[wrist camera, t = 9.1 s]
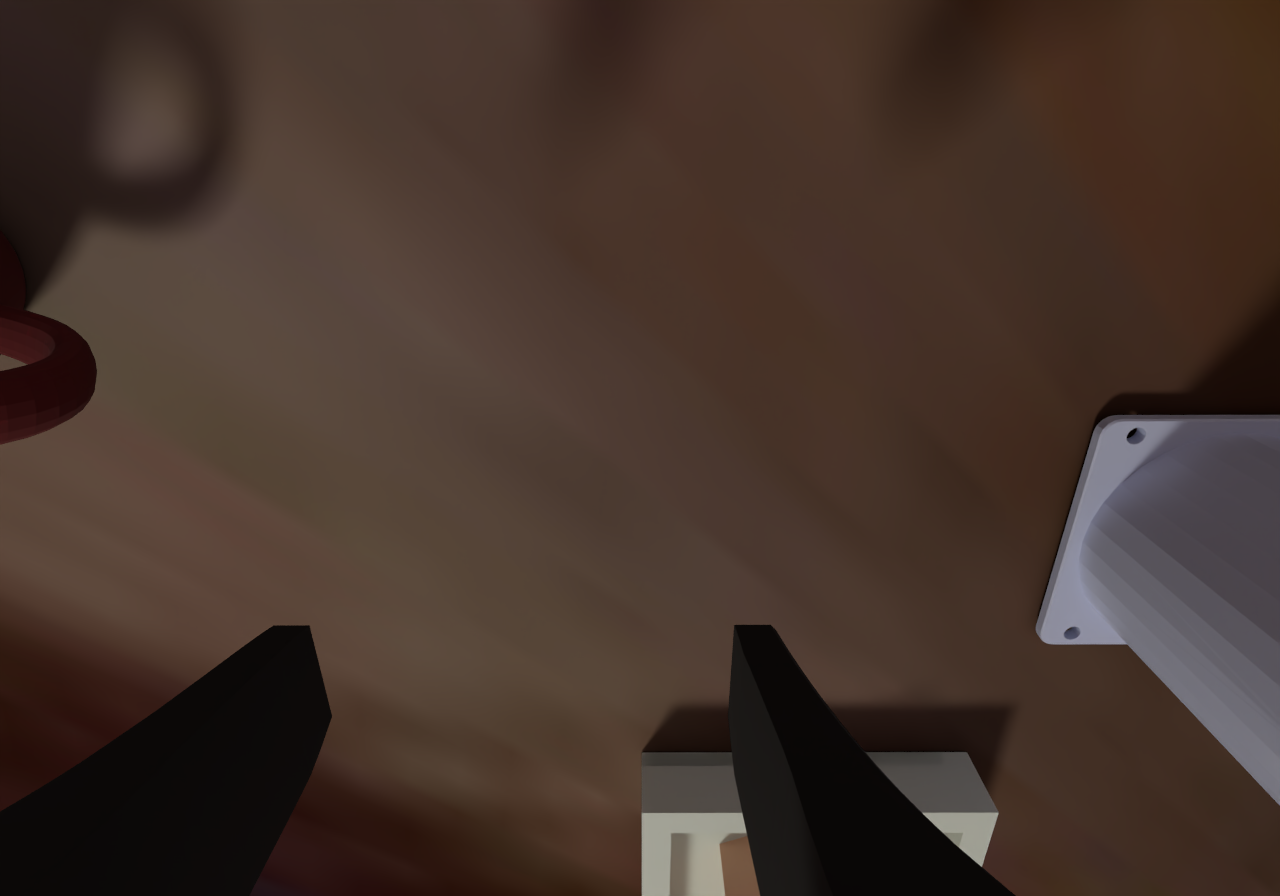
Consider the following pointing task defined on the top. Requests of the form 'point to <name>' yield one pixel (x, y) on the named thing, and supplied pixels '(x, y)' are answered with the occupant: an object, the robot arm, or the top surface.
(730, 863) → the block
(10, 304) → the mug
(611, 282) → the top surface
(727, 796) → the tray
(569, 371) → the top surface
